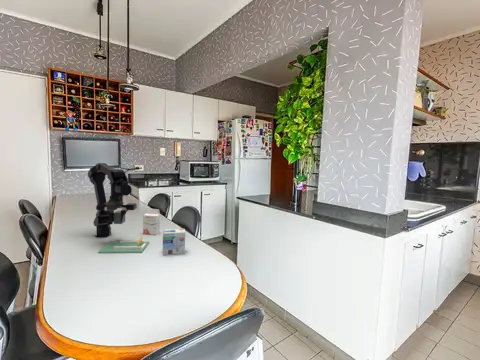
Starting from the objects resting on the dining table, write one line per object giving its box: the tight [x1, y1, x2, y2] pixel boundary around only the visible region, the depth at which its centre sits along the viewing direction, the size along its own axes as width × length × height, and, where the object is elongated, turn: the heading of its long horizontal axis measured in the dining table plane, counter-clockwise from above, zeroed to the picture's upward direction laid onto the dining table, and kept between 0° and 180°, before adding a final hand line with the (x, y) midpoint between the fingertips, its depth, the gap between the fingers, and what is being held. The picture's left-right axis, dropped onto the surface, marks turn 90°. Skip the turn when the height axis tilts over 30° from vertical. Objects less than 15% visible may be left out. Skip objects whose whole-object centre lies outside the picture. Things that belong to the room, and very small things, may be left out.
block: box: [113, 210, 126, 225], centre depth 135 cm, size 4×6×6 cm
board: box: [97, 236, 150, 254], centre depth 126 cm, size 20×14×5 cm
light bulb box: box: [162, 228, 186, 256], centre depth 122 cm, size 11×7×11 cm, turn 105°
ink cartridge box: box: [142, 208, 161, 236], centre depth 150 cm, size 9×5×15 cm, turn 84°
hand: (117, 222), depth 132 cm, fingers closed on block, 4 cm apart
